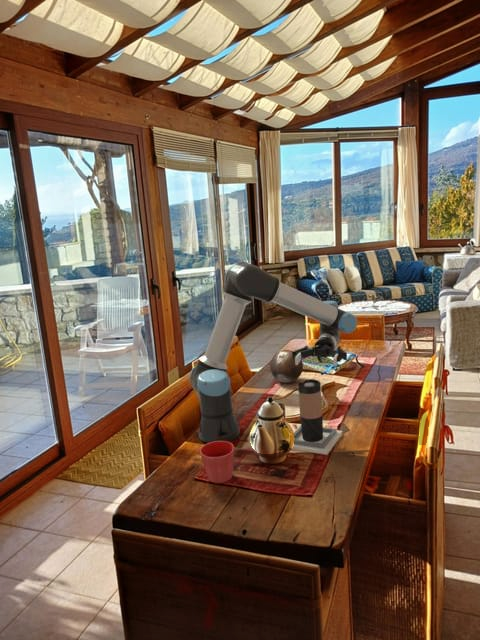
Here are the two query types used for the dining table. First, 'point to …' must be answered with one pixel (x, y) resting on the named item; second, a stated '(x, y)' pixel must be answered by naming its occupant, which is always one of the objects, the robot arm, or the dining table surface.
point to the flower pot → (218, 460)
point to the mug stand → (320, 446)
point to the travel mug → (311, 410)
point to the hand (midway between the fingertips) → (315, 362)
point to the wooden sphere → (285, 367)
